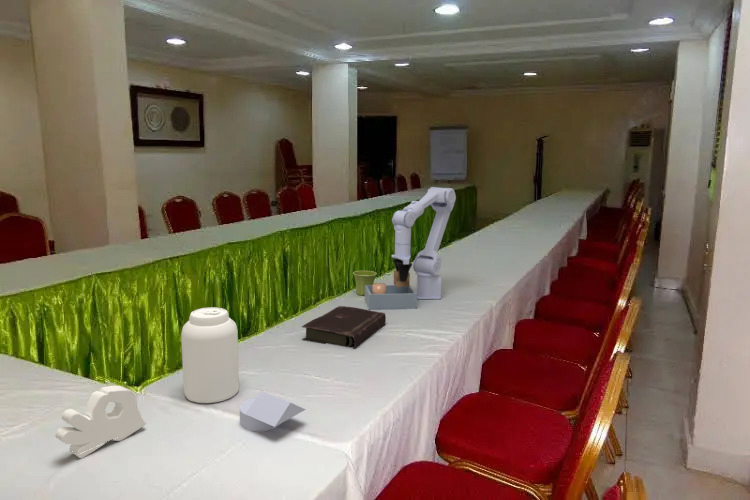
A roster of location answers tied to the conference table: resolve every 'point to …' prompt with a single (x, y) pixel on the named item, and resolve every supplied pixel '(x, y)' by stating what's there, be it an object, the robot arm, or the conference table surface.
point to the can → (210, 356)
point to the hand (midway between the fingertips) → (401, 279)
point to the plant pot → (363, 280)
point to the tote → (391, 298)
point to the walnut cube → (401, 283)
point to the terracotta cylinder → (379, 288)
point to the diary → (344, 326)
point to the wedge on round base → (266, 412)
